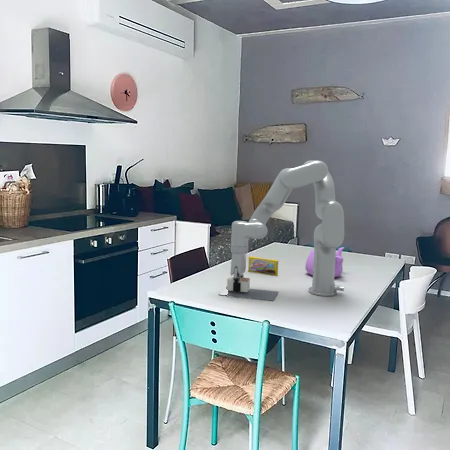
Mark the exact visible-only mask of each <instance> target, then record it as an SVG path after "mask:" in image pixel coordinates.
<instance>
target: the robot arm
mask: <svg viewBox="0 0 450 450" xmlns="http://www.w3.org/2000/svg"><path fill="white" fill-rule="evenodd" d="M311 184H313V187H314V196H315V197H314V198H315V199H314V200H315V204H314V205H315V207H314V208H315V216H316V217H317V218H319V220H321V223H320V224H318V225H317V226H315V229H314V231H313V247H314V248H313V250H314V263H313V275H312V280H311V281H312V284H311V286H310V287H309V288H308V292H309V294H312V295H315V296H321V297H330V296H331V297H332V296H335V295H337V293H338V291H340V292H344V291H345V286H342V285H337V284H336V282H335V277H334V274H335V260H336V252H337V250H336V249H337V248H338V247H340V246H341V245H342V244H343V242H344V239H345V213H344V212H345V211H344V209H343V206H342V204H341V203H340V202H338V201H336V193H335V192H336V191H335V190H336V188H335V182H334V179H333V177H332V175H331V173H330V172H329V168H328V165H327V164H326V163H325V161H322V160H317V159H316V160H311V159H310V160H307V161H305V162H303V164H302V165H299V166H297V167H293V168H292V167H291V168H290V167H287V168H286V167H285V168H284V169H282V170H280V172H279V173H278V175H277V176H276V178H275V180H274V182H273V183H272V184H271V187H270V189H269V190H268V191H267V193H266V195H265V196H264V198H263V199H262V201H261V202H260V203H259V205H258V206H257V207H256V209H255V210H254V212H253V214H252V215H251V217H250V218H249V220H248V221H246V220H245V221H244V220H235V221H233V222H232V223H231V236H230V237H231V238H230V240H231V241H230V253H232V254H231V260H230V261H231V262H230V272H229V274H230V276H231V277H233V278H234V280H233V291H236V292H240V289H241V283H240V277H241V278H245V276H244V274H245V272H246V268H247V254H248V253H249V239H255V240H262V239H264V238H265V237H267V235H268V233H269V232H268V226H266V224H267V223H268V221H269V219H270V218H271V217H272V216H273V214H275V213H276V212H277V211H279V210H280V209H281V208H283V206H284V205H285V203H286V201H287V200H288V197H290V194H291V192H292V191H293V189H299V188H302V187H305V186H308V185H311ZM237 277H239V280H238V278H237Z"/></svg>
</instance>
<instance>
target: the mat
mask: <svg viewBox="0 0 450 450" xmlns="http://www.w3.org/2000/svg"><path fill="white" fill-rule="evenodd" d="M225 287H226V289H227V285H226V286H225ZM227 295H228V296H227V297H229V296H236V297H235V298H239V297H243V298H242V299H248V298H251V299H250V300H257V299H259V300H260V301H267V300H268V301H269V302H274V301H275V299H276V297H277V296H278V295H279V291H278V290H269V289H268V290H266V289H259V288H258V289H257V288H249V290H248V292H236V291H230V290H228V294H227ZM268 301H267V302H268Z"/></svg>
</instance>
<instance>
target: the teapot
mask: <svg viewBox="0 0 450 450" xmlns="http://www.w3.org/2000/svg"><path fill="white" fill-rule="evenodd" d="M344 249H345V247H340V248H338V249H337V250H336V260H335V274H334V278H338V277H341V275H342V273H343V270H344V269H343V263H344V257H343V256H342V253H343V250H344ZM313 263H314V249H313V250H311V251H310V252H309V254H308V256H307V259H306V262H305V267H304V268H305V271H306V272H307V274H308V275H311V276H313Z"/></svg>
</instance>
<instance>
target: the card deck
mask: <svg viewBox="0 0 450 450" xmlns="http://www.w3.org/2000/svg"><path fill="white" fill-rule="evenodd" d="M233 277H234V276H231V275H230V276H229V277H228V278H227V280H226V286H227V290H230V291H233V280H234V278H233ZM237 278H238V280H239V277H237ZM250 280H251V278H250V277H244V278H241V277H240V283H241V289H240V292H248V290H249V289H250V287H251V286H250V284H251V283H250V282H251V281H250Z"/></svg>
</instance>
